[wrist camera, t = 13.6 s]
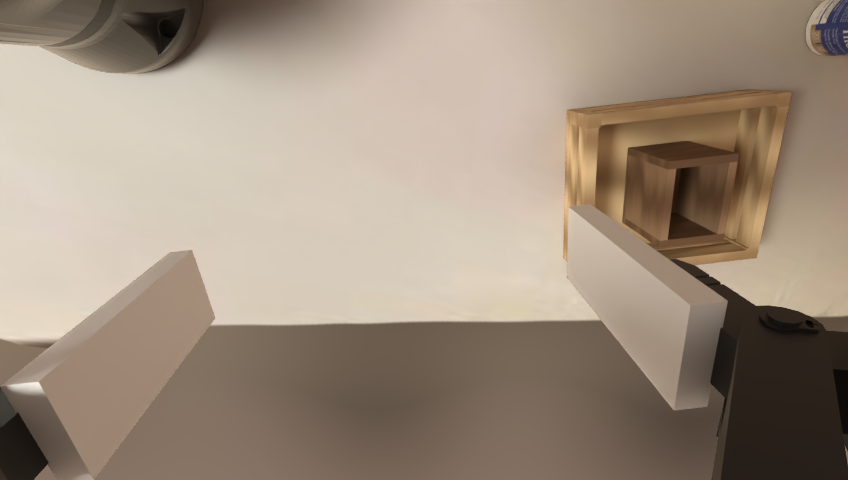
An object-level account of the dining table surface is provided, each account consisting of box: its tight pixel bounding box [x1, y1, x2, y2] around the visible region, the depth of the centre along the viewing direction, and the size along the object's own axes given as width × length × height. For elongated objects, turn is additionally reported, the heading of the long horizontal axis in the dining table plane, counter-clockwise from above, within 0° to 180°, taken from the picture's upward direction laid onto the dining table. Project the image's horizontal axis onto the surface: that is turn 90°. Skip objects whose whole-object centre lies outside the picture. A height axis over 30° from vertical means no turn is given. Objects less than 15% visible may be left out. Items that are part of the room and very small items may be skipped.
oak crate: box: [563, 90, 792, 265], centre depth 42 cm, size 16×18×5 cm
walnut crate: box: [622, 141, 739, 248], centre depth 40 cm, size 8×6×7 cm
